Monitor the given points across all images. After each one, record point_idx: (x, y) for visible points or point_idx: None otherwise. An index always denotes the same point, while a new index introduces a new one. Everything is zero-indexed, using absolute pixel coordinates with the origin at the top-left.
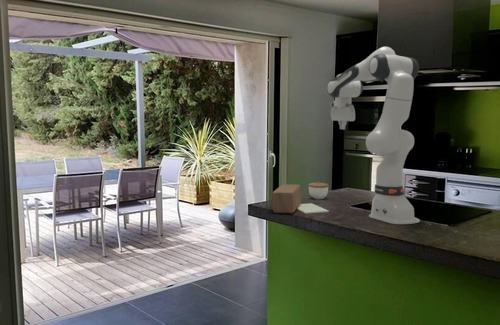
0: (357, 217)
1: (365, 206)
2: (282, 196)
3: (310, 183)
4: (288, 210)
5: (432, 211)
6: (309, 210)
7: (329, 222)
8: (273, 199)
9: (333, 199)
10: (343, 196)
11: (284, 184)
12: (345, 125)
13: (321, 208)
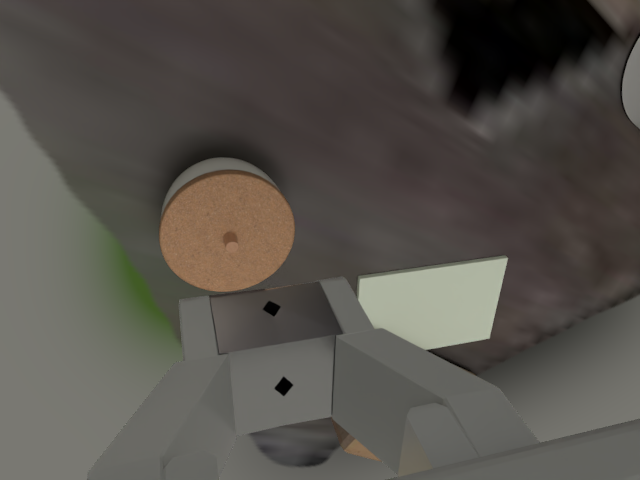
0: (621, 189)
1: (501, 43)
2: None
3: (197, 277)
4: None
5: None
6: (471, 320)
7: (610, 298)
8: None
9: (278, 125)
10: (199, 9)
11: (358, 445)
12: (399, 343)
13: (463, 271)
